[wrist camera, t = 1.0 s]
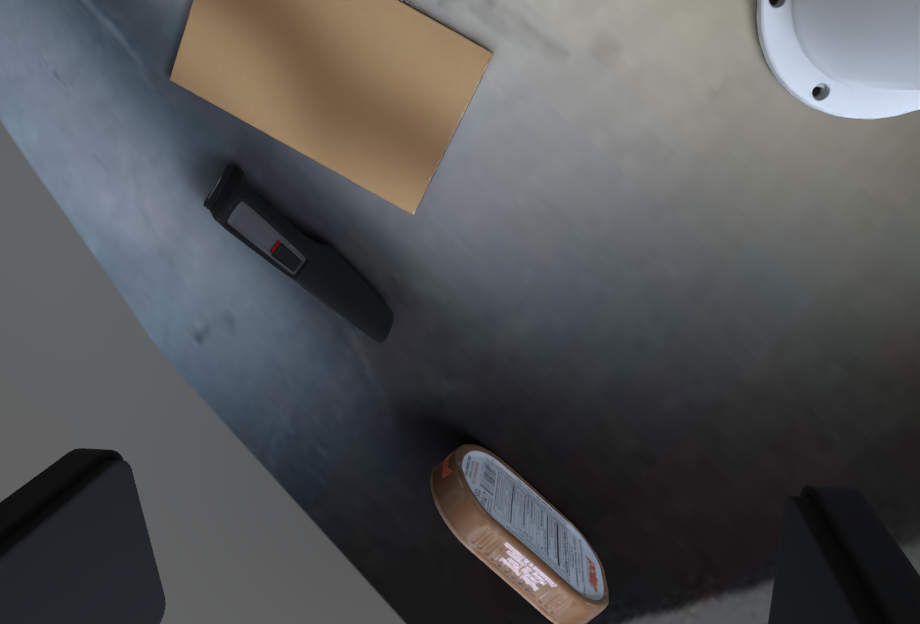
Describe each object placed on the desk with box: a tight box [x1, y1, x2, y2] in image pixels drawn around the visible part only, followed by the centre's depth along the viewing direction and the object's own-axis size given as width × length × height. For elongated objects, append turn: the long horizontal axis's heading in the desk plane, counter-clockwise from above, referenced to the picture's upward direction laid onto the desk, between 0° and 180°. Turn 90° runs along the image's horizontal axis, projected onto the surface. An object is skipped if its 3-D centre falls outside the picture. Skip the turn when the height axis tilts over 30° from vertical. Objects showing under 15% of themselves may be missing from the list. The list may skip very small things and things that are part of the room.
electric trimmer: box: [204, 164, 394, 343], centre depth 43 cm, size 4×16×3 cm, turn 50°
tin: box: [430, 444, 608, 624], centre depth 44 cm, size 15×3×8 cm, turn 48°
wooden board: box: [170, 0, 493, 215], centre depth 39 cm, size 11×18×1 cm, turn 62°
